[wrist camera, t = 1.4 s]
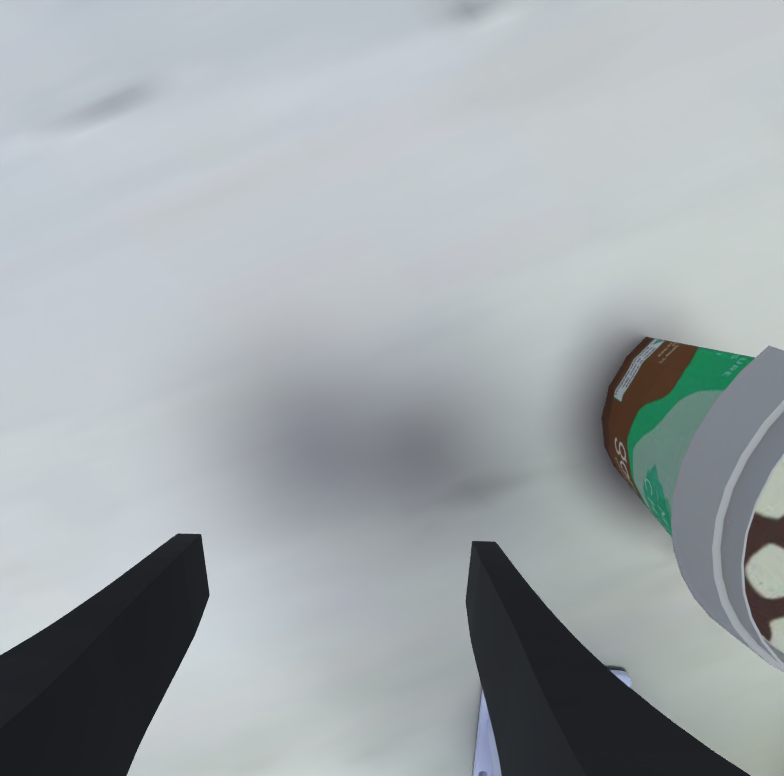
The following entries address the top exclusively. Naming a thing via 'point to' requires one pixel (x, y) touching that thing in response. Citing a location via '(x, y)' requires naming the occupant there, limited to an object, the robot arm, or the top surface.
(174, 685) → the top surface
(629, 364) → the food container
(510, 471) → the top surface
